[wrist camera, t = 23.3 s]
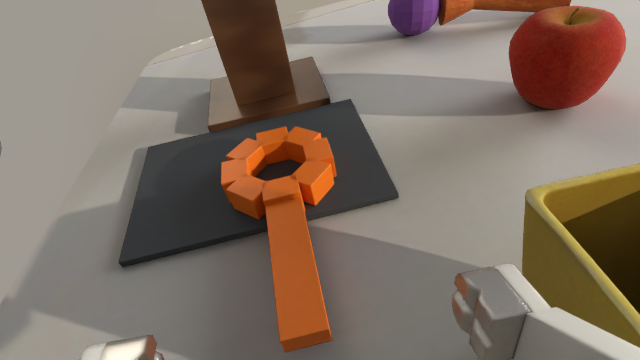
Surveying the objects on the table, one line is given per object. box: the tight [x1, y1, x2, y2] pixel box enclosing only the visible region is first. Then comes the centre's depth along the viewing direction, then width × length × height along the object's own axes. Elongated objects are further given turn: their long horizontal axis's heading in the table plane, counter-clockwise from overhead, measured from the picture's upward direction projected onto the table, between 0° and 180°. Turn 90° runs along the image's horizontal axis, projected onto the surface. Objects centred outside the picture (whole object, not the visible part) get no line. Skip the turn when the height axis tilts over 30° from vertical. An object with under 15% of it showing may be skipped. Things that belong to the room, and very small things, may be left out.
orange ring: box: [221, 126, 337, 352], centre depth 26 cm, size 8×18×2 cm, turn 10°
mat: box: [119, 99, 398, 267], centre depth 33 cm, size 20×14×1 cm
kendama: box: [388, 0, 571, 35], centre depth 46 cm, size 6×6×20 cm
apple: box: [509, 6, 626, 109], centre depth 31 cm, size 8×8×8 cm
